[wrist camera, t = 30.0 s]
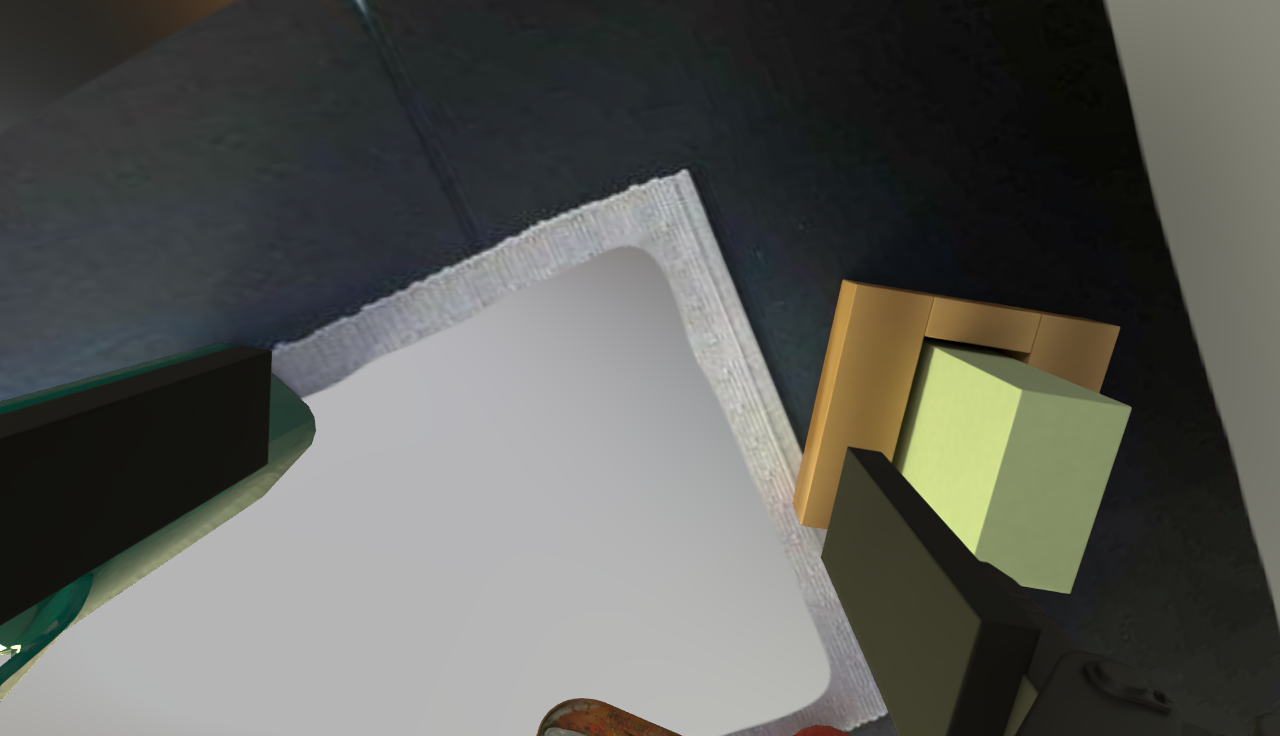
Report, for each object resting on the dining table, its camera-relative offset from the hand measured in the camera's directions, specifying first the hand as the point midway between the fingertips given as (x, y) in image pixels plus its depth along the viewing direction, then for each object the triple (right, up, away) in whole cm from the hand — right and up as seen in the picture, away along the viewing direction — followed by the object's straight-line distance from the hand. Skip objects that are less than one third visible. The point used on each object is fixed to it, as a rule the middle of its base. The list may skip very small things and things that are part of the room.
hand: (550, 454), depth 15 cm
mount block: (+19, -1, +25) cm, 31 cm away
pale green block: (+20, -1, +24) cm, 31 cm away
